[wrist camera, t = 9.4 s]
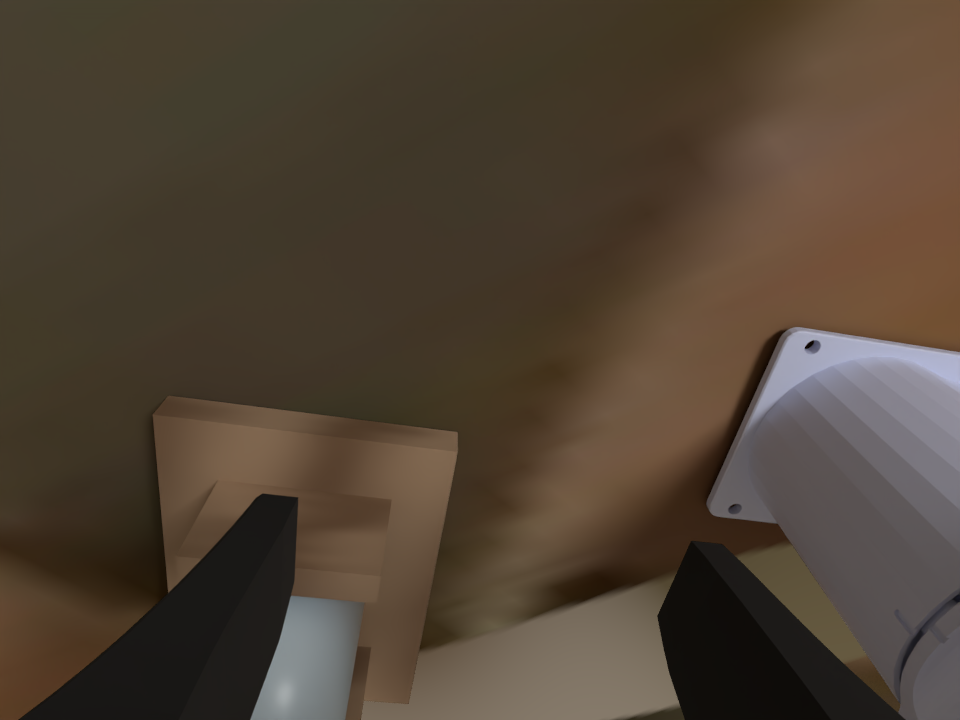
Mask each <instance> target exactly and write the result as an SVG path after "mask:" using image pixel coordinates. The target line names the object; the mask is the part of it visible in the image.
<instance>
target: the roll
mask: <svg viewBox="0 0 960 720" xmlns="http://www.w3.org/2000/svg"><path fill="white" fill-rule="evenodd" d="M364 604H365V602H354V601H343V600H333V599H322V598H311V597H300V596H291V597H290V601H289V605H288V609H287V613H286V617H285V621H284V625H283V629H282V633H281V636H280V640H279V643H278V646H277V648H276V651H275V654H274V657H273V659H272V662H271V665H270V668H269V670H268V673H267V676H266V679H265V681H264V684H263V687H262V689H261V692H260V695H259V698H258V700H257V703H256V706H255V708H254V711H253V714H252V717H251V719H250V720H345V718H346V712H347V706H348V700H349V694H350V688H351V682H352V676H353V670H354V664H355V658H356V652H357V646H358V640H359V634H360V628H361V622H362V616H363V610H364Z"/></svg>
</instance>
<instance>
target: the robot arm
mask: <svg viewBox="0 0 960 720" xmlns="http://www.w3.org/2000/svg"><path fill="white" fill-rule="evenodd" d="M812 340H814V344H813V345H812V346H811V347H810V348H808V349H805V346H806V345H807V343H808V342H810V341H812ZM733 504H736V505H735V506H733V507H730V506H731V505H733ZM706 505H707V507H708V509H709V511H710V513H711V514H712V515H714V516H717V517H724V518H733V519H742V520H750V521H759V522H767V523H776V524H778V525H779V526H780V528H781V529H782V531H783V532H784V534H785V535H786V537H787V538H788V539H789V541H790V542H791V544H792V545H793V547H794V548H795V550H796V551H797V553H798V554H799V556H800V557H801V559H802V560H803V562H804V563H805V564H806V566H807V567H808V569H809V570H810V572H811V573H812V575H813V576H814V577H815V579H816V581H817V582H818V584H819V585H820V586H821V588H822V590H823V591H824V592H825V594H826V595H827V597H828V598H829V600H830V601H831V603H832V604H833V606H834V607H835V609H836V610H837V612H838V613H839V614H840V616H841V617H842V619H843V620H844V622H845V623H846V625H847V626H848V628H849V629H850V631H851V632H852V634H853V635H854V637H855V638H856V639H857V641H858V642H859V644H860V645H861V647H862V648H863V650H864V651H865V653H866V654H867V656H868V657H869V659H870V660H871V662H872V663H873V665H874V666H875V668H876V669H877V671H878V672H879V673H880V675H881V676H882V678H883V679H884V681H885V682H886V684H887V685H888V687H889V688H890V690H891V691H892V693H893V694H894V696H895V697H896V698H897V700H898V701H899V703H900V704H901V706H900V709H899V712H898V713H897V712H896V711H895V710H894V709H893V708H892V707H891V706H889V705H888V704H887V703H886V702H885V701H884V700H883V699H882V698H881V697H879V696H878V695H877V694H876V693H875V692H874V691H873V690H872V689H871V688H870V687H868V686H867V685H866V684H865V683H864V682H863V681H862V680H861V679H860V678H859V677H857V676H856V675H855V674H854V673H853V672H852V671H851V670H850V669H849V668H848V667H847V666H846V665H845V664H843V663H842V662H841V661H840V660H839V659H838V658H837V657H836V656H835V655H834V654H833V653H832V652H831V651H830V650H829V649H828V648H827V647H826V646H824V645H823V643H821V641H819V640H818V639H817V638H816V637H815V636H814V635H813V634H812V633H811V632H810V631H809V630H808V629H807V628H806V627H805V626H804V625H803V624H802V623H801V622H800V621H799V620H798V619H797V618H796V617H795V616H794V615H793V614H792V613H791V612H790V611H789V610H788V609H787V608H786V607H785V606H784V605H783V604H782V603H781V602H780V601H779V600H778V599H777V598H776V597H775V596H774V595H773V594H772V593H771V592H770V591H769V590H768V589H767V588H766V587H765V586H764V585H763V583H761V581H759V579H758V578H757V577H755V575H754V574H753V573H752V572H751V571H750V570H748V568H746V566H745V565H744V564H743V563H742V562H741V561H739V560H738V559H737V558H736V557H735V556H734V555H733V554H732V553H731V552H730V551H729V550H728V549H727V548H726V547H725V546H724V545H722V544H715V543H706V542H697V541H691V543H690V545H689V547H688V549H687V552H686V554H685V556H684V558H683V560H682V563H681V565H680V567H679V569H678V572H677V574H676V576H675V578H674V581H673V583H672V585H671V587H670V589H669V592H668V594H667V596H666V598H665V600H664V603H663V605H662V607H661V609H660V611H659V614H658V621H659V626H660V632H661V637H662V642H663V647H664V652H665V656H666V660H667V664H668V669H669V673H670V676H671V679H672V682H673V685H674V689H675V691H676V694H677V697H678V700H679V703H680V706H681V709H682V712H683V715H684V718H685V720H960V352H955V351H948V350H942V349H935V348H929V347H923V346H916V345H910V344H903V343H897V342H891V341H884V340H878V339H872V338H865V337H859V336H852V335H846V334H840V333H833V332H827V331H821V330H814V329H808V328H801V327H794V328H791V329H788V330H787V331H786V332H784V333H783V334H782V336H781V337H780V339H779V341H778V343H777V345H776V348H775V350H774V352H773V354H772V357H771V359H770V361H769V363H768V365H767V368H766V370H765V372H764V374H763V377H762V379H761V381H760V383H759V386H758V388H757V390H756V392H755V394H754V397H753V399H752V401H751V403H750V406H749V408H748V410H747V412H746V415H745V417H744V419H743V421H742V423H741V426H740V428H739V430H738V432H737V435H736V437H735V439H734V441H733V444H732V446H731V448H730V450H729V452H728V455H727V457H726V459H725V461H724V464H723V466H722V468H721V470H720V472H719V475H718V477H717V479H716V481H715V484H714V486H713V488H712V490H711V493H710V495H709V497H708V499H707V503H706ZM297 517H298V497H290V496H281V495H272V494H263V493H262V494H261V495H259V496H258V497H256V498H255V499H254V501H253V502H252V503H251V504H250V506H249V507H248V508H247V509H246V510H245V512H244V513H243V514H242V515H241V516H240V517H239V519H238V520H237V521H236V522H235V523H234V524H233V526H232V527H231V528H230V529H229V530H228V531H227V532H226V533H225V535H224V536H223V537H222V538H221V539H220V540H219V541H218V542H217V543H216V544H215V545H214V547H213V548H212V549H211V550H210V551H209V552H208V553H207V554H206V555H205V556H204V557H203V558H202V559H201V560H200V561H199V562H198V563H197V564H196V565H195V566H194V567H193V568H192V569H191V571H190V572H189V573H188V574H187V575H186V576H185V577H184V578H183V579H182V580H181V581H180V582H179V583H178V584H177V585H176V586H175V587H174V588H173V589H172V590H171V591H170V592H169V593H168V594H167V595H166V596H165V597H163V598H162V599H161V600H160V601H159V602H158V603H157V604H156V605H155V606H154V607H153V608H152V609H151V610H149V611H148V612H147V613H146V614H145V615H144V616H143V617H142V618H141V619H140V620H139V621H138V622H137V623H136V624H134V625H133V626H132V627H131V628H130V629H129V630H128V631H127V632H126V633H125V634H124V635H122V636H121V637H120V638H119V639H118V640H117V641H116V642H114V643H113V644H112V645H111V646H110V647H109V648H108V649H106V650H105V651H104V652H103V653H102V654H101V655H99V656H98V657H97V658H96V659H95V660H94V661H92V662H91V663H90V664H89V665H88V666H86V667H85V668H84V669H83V670H81V671H80V672H79V673H78V674H77V675H75V676H74V677H73V678H72V679H70V680H69V681H68V682H67V683H65V684H64V685H63V686H62V687H61V688H59V689H58V690H57V691H56V692H54V693H53V694H52V695H50V696H49V697H48V698H46V699H45V700H44V701H43V702H41V703H40V704H39V705H37V706H36V707H35V708H33V709H32V710H31V711H29V712H28V713H27V714H25V715H24V716H23V717H21V718H20V719H19V720H250V719H251V717H252V714H253V711H254V708H255V706H256V703H257V700H258V698H259V695H260V692H261V689H262V687H263V684H264V681H265V679H266V676H267V673H268V670H269V668H270V665H271V662H272V659H273V657H274V654H275V651H276V648H277V646H278V643H279V640H280V636H281V633H282V629H283V625H284V621H285V617H286V613H287V609H288V605H289V601H290V597H291V593H292V589H293V585H294V580H295V559H296V538H297Z"/></svg>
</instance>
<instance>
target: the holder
mask: <svg viewBox="0 0 960 720" xmlns="http://www.w3.org/2000/svg"><path fill="white" fill-rule="evenodd" d="M153 424H154V435H155V447H156V458H157V470H158V481H159V493H160V504H161V516H162V527H163V538H164V550H165V561H166V573H167V584H168V593H169V592H170V591H171V590H172V589H173V588H174V587H175V586H176V585H177V584H178V583H179V582H180V581H181V580H182V579H183V578H184V577H185V576H186V575H187V574H188V573H189V572H190V571H191V569H192V568H193V567H194V566H195V565H196V564H197V563H198V562H199V561H200V560H201V559H202V558H203V557H204V556H205V555H206V554H207V553H208V552H209V551H210V550H211V549H212V548H213V547H214V545H215V544H216V543H217V542H218V541H219V540H220V539H221V538H222V537H223V536H224V535H225V533H226V532H227V531H228V530H229V529H230V528H231V527H232V526H233V524H234V523H235V522H236V521H237V520H238V519H239V517H240V516H241V515H242V514H243V513H244V512H245V510H246V509H247V508H248V507H249V506H250V504H251V503H252V502H253V501H254V499H255V498H256V497H258V496H259V495H261V494H262V493H263V494H272V495H281V496H290V497H298V517H297V538H296V559H295V580H294V585H293V589H292V593H291V596H300V597H311V598H322V599H333V600H343V601H354V602H365V604H364V610H363V616H362V622H361V628H360V634H359V640H358V646H357V652H356V658H355V664H354V670H353V676H352V682H351V688H350V694H349V700H348V706H347V712H346V718H345V720H361V715H362V708H363V701H375V702H388V703H403V704H409V699H410V694H411V689H412V684H413V679H414V674H415V668H416V664H417V658H418V653H419V648H420V643H421V638H422V633H423V628H424V622H425V617H426V612H427V607H428V602H429V597H430V592H431V587H432V581H433V576H434V571H435V566H436V561H437V556H438V551H439V546H440V540H441V535H442V530H443V525H444V520H445V515H446V510H447V505H448V499H449V494H450V489H451V484H452V479H453V474H454V469H455V463H456V458H457V453H458V432H452V431H445V430H437V429H429V428H421V427H413V426H405V425H397V424H389V423H381V422H374V421H366V420H358V419H350V418H342V417H334V416H326V415H318V414H310V413H303V412H295V411H287V410H279V409H271V408H263V407H255V406H247V405H239V404H232V403H224V402H216V401H208V400H200V399H192V398H184V397H176V396H168V397H167V398H166V399H165V400H164V402H163V403H162V404H161V405H160V406H159V408H158V409H157V410H156V411H155V412H154V414H153Z"/></svg>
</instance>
